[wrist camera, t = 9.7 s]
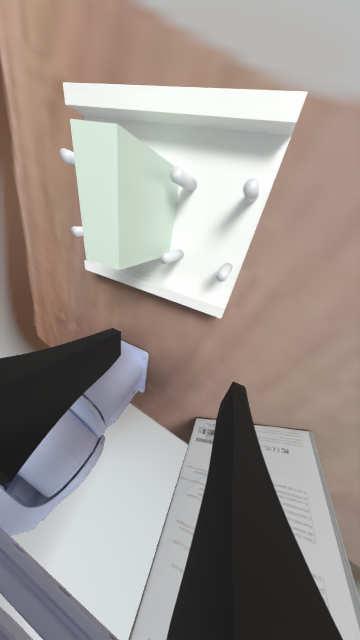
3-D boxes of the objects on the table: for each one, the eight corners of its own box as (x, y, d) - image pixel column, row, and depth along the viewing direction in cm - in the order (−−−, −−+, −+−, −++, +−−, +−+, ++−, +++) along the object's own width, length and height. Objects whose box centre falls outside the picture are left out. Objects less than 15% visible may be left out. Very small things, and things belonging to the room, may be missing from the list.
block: (169, 254, 16) (119, 270, 10) (146, 248, 16) (86, 259, 11) (181, 171, 12) (117, 123, 7) (152, 166, 13) (70, 118, 7)
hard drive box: (210, 446, 30) (153, 707, 13) (195, 415, 27) (104, 690, 11) (321, 468, 22) (498, 1140, 6) (314, 429, 20) (583, 1382, 3)
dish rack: (225, 307, 17) (217, 326, 14) (102, 265, 20) (73, 272, 17) (297, 119, 10) (316, 67, 7) (92, 104, 13) (39, 65, 10)
